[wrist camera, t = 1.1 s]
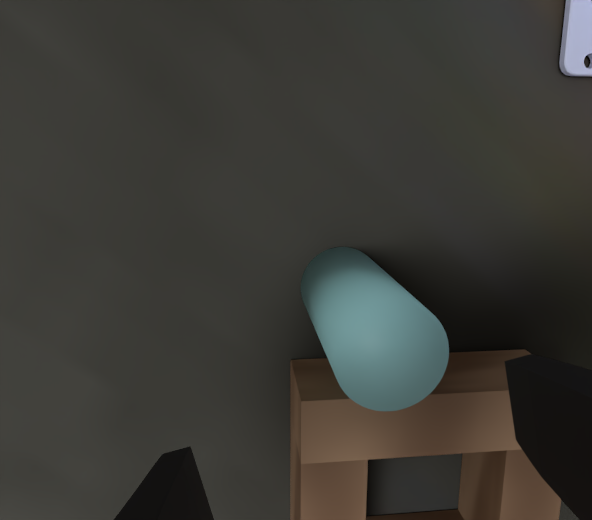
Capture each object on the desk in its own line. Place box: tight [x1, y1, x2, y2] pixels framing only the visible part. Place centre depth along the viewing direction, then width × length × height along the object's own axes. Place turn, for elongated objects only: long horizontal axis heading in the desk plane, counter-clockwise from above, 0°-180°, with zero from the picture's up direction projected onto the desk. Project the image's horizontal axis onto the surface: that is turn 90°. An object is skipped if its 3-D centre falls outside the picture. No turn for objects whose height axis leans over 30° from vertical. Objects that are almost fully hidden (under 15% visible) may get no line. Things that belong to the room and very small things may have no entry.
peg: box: [301, 247, 449, 411], centre depth 18 cm, size 3×3×7 cm
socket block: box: [290, 349, 561, 520], centre depth 22 cm, size 10×10×4 cm
